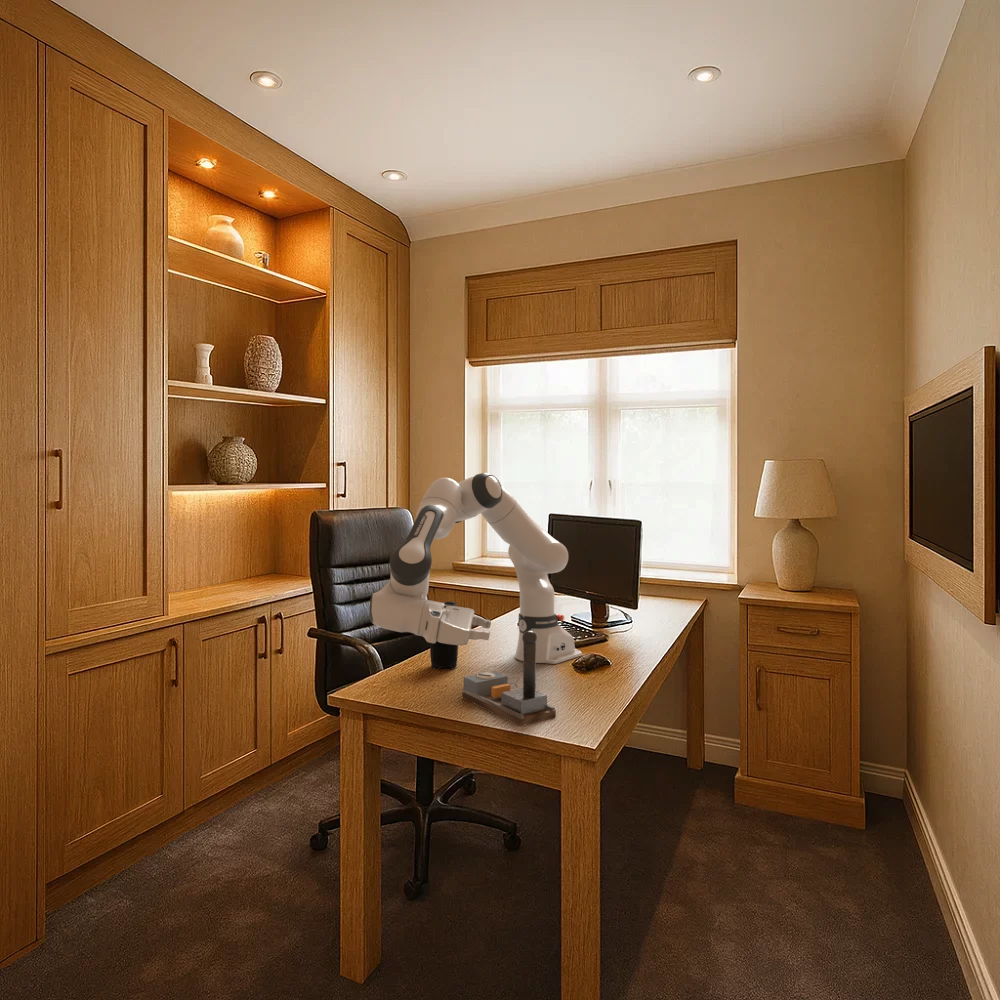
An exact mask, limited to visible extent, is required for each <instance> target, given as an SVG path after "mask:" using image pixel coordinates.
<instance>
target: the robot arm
mask: <svg viewBox="0 0 1000 1000" xmlns="http://www.w3.org/2000/svg"><path fill="white" fill-rule="evenodd" d="M479 514H481V515H482V516H483V518H484V520H485V521H486V522H487V523H488V524H489V526H491V528H492V529H493V530H494V531H495V533H496V534H497V535H498V536H499V537H500V538H501V539H502V540H503V542H505V543H506V544H508V545H509V546H508V551H507V552H508V556H509V559H510V561H511V563H512V564H513V566H514V567H513V568H514V570H515V574H516V577H517V582H518V587H519V588H518V589H519V613H518V622H517V623H518V639H517V646H516V649H515V654H514V658H515V659H516V660H517V661H519V662H520V661H521V662H523V640H522V636H523V634H524V633H525V632H526V631H533V632H535V633H536V635H537V641H536V664H552V665H555V664H559V663H562V662H566V661H568V660H572V659H575V658H578V657H581V656H583V653H582V651H581V650H580V649H577V648H576V647H575V646H576V645H575V640H574V636H572V634H570V632H568V631H567V630H565V629H564V627H562V626H561V625H559V621H560V622H564V621H565V616H564V615H563V614H560V613H559V614H556V613H555V590H554V586H553V585H552V584H551V582H550V578H549V576H548V574H554V573H555V574H556V573H560V572H562V571H563V570H564V569H565V568H566V566H567V564H568V562H569V551H568V549H567V547H566V546H565V545H564V544H563V543H562V542H560V541H559V540H557V539H555V538H554V537H553V536H552V535H550V534H549V533H548V532H547V531H546V530H545V529H544V528H543V527H541V525H539V524H538V523H537V522H536V521H534V520H533V519H532V518H531V517H530V516H529V515H528V513H527V512H526V511H525V510H524V509H523V508H522V506H521V504H519V502H518V501H517V500H516V499H515V498H514V497H513V496H512V494H511V493H510V492H509V490H507V488H505V487H503V486H502V484H501V482H500V480H499V479H498V478H497V477H496V476H495V475H493V474H491V473H489V472H482V473H481V472H480V473H478V474H477V473H476V474H475V475H474V476H470V477H468V478H466V479H463V480H461V481H459V482H457V481H456V480H454V479H452V478H449V477H438V478H437V479H435V480H434V481H433V482H432V483H431V484H430V486H429V487H428V488H427V490H426V492H425V493H424V494H423V497H422V499H421V501H420V502H419V505H418V508H417V510H416V515H415V520H414V523H413V525H412V527H411V528H410V531H409V532H408V535H407V537H406V538H405V539H404V541H403V542H401V543H400V544H399V545H397V546H396V548H394V550H393V551H392V553H391V554H390V557H389V568H390V569H389V570H390V579H389V581H387V583H386V584H385V585H384V586H383V587H382V588H381V589H380V590H378V591H377V592H373V593H372V595H371V597H370V601H369V620H370V622H371V623H372V624H373V625H374V626H377V627H379V628H381V629H384V630H389V631H393V632H398V633H411V634H413V635H416V636H418V637H419V636H420V637H423V638H424V639H425V641H426V642H427V643H429V644H430V643H436V641H438V642H440V643H445V644H452V645H458V646H467V645H468V643H469V640H473V641H474V640H475V641H476V640H478V641H479V640H483V641H488V640H489V639H490V636H491V632H490V631H489V629H490V628H491V626H492V625H491V624H492V621H491V620H490V619H487V618H486V619H485V618H484V617H481V616H479V615H475V610H474V609H472V608H469V607H462V606H457V605H456V606H446V608H444V605H445V604H444V602H441V601H436V600H430V599H426V598H427V596H428V593H429V588H430V587H429V586H430V575H431V567H432V561H433V560H432V559H433V558H432V552H431V547H432V545H433V543H434V540H440V539H444V538H447V537H448V536H449V534H450V533H451V532H452V530H453V529H454V526H455V524H460V523H461V522H462V521H465V520H469V519H472V518H475V517H477V516H479ZM472 626H478V627H482V628H484V629H488V630H484V629H483V630H476V629H474V628H472Z"/></svg>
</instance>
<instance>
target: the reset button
mask: <svg viewBox="0 0 1000 1000" xmlns="http://www.w3.org/2000/svg"><path fill="white" fill-rule="evenodd" d="M511 689H512V688H511V684H509V683H508V684H503V685H498V686H494V687H491V696H492V697H494V698H496V697H500V696H501V693H502V692H506V691H511Z"/></svg>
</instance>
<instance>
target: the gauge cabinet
mask: <svg viewBox="0 0 1000 1000" xmlns="http://www.w3.org/2000/svg"><path fill="white" fill-rule="evenodd" d="M508 680H509V676H508V675H506V674H503V673H501V672H498V671H496V670H491V671H484V672H478V673H476V674H472V675H467V676H463V689H465V690H467V691H469V692H471V693H474V694H476V695H478V694H479V695H481V696H487V695H491V687H494V686H498V685H503V684H509V683H508V682H509V681H508Z"/></svg>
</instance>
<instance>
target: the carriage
mask: <svg viewBox="0 0 1000 1000" xmlns="http://www.w3.org/2000/svg"><path fill="white" fill-rule="evenodd" d="M522 640H523V661H522V664H523V666H522V669H523V670H522V671H523V672H522V673H523V675H522V679H523V680H522V684H523V685H522V687H520V688H516V689H512V690H511V691H506V692H502V693H501V705H502V706H505V707H507V708H509V709H511V710H513V711H515V712H518V713H520V714H522V715H526V714H530V713H534V712H538V711H542V710H546V709H547V704H548V694H545V693H543V692H540V691H538V690H536V683H537V682H536V677H537V676H536V675H537V672H536V671H537V669H536V666H537V665H536V664H537V663H536V641H537V635H536V633H535V632H533V631H526V632H525V633H524V634H523V636H522Z"/></svg>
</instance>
